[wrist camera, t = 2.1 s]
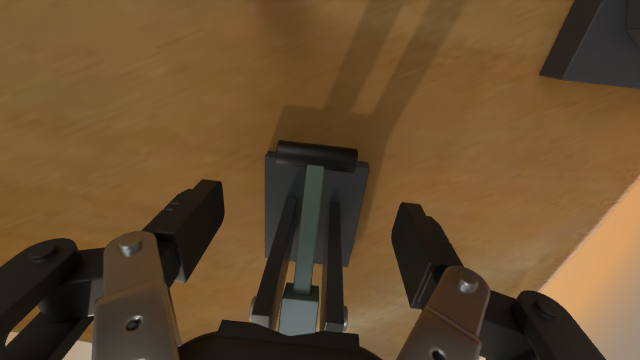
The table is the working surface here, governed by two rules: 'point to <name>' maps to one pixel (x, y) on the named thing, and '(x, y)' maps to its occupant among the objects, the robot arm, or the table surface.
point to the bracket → (331, 243)
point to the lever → (308, 229)
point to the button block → (598, 44)
